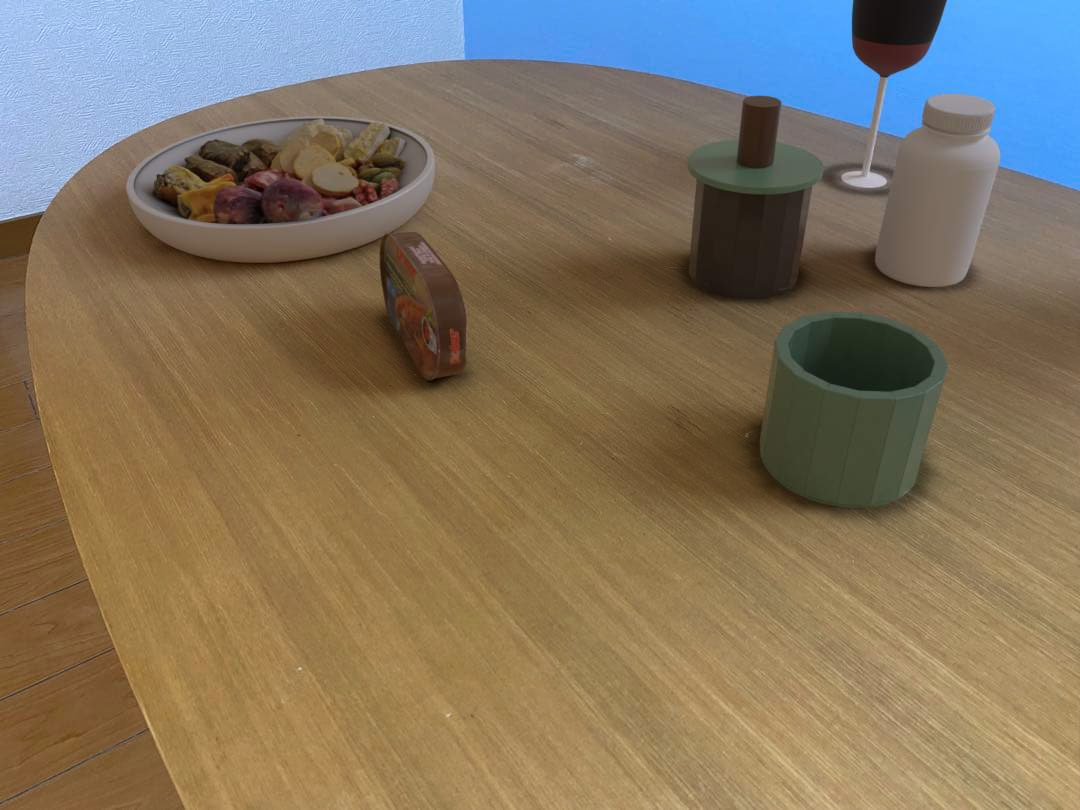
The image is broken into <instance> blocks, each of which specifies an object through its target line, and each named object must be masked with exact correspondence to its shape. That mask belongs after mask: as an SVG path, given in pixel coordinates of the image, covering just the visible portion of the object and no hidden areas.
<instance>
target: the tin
mask: <svg viewBox="0 0 1080 810" xmlns="http://www.w3.org/2000/svg"><path fill="white" fill-rule="evenodd" d="M380 241H381V242H380V246H379V275H380V281H381V288H382V294H383V300H384V306H385V310H386V313H387V317H388V320H389V322H390V324H391V325H392V326H393V327H394V329H396V331H397V333H398V335H399V337H400V339H401V341H402V343H403V344H404V346H405V348H406V349H407V351H408V353H409V355H410V357H411V359H412V361H413V362H414V364H415V365H416V367H417V369H418V370H419V372H420V374H421V376H422V377H423V379H425V380H427V381H433V380H434V379H439V378H443V377H450V376H454V375H457V374H459V373H461V372H463V371H464V369H465V368H466V365H467V325H468V324H467V323H468V321H467V320H468V319H467V312H466V308H465V307H466V306H465V302H464V298H463V294H462V291H461V289H460V286H459V284H458V282H457V280H456V277H455V276H454V274H453V273H452V271H451V270H450V269H449V268H448V267H447V265H446V263H445V262H444V261H443V260H442V259H441V258H440V256H439V254H438V253H437V252H436V251H435V250H434V249H433V247H432V246H431V245H430V244H429V242H427V240H426V239H425V238H424V237H423V235H421V234H420V233H419V232H415V231H409V232H407V231H405V232H397V233H391V232H390V233H386V234H385V235H384V236H383V237H381V240H380Z"/></svg>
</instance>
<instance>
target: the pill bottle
mask: <svg viewBox="0 0 1080 810" xmlns="http://www.w3.org/2000/svg"><path fill="white" fill-rule="evenodd" d="M995 114H996V107H995V105H994V103H992V101H990V100H987V99H985V98H983V97H980V96H975V95H971V94H965V93H964V94H963V93H940V94H935V95H933V96H930V97H928V98H927V99H926V101H925V103H924V105H923V111H922V115H921V126H919V127H918V128H914V129H913V130H911V131H910V132H908V133H907V134H906V135H905V136H904V137H903V139H902V141H901V143H900V144H899V146H898V150H897V156H896V160H895V164H894V169H893V173H892V177H891V183H890V186H889V191H888V196H887V199H886V203H885V209H884V214H883V218H882V221H881V226H880V232H879V236H878V241H877V244H876V250H875V255H874V256H875V257H874V262H875V266H876V267H877V269H878V270H879V271H880V272H881V273H882V274H883V275H885V276H887V277H888V278H890V279H892V280H895V281H897V282H900V283H904V284H907V285H912V286H916V287H924V288H927V287H928V288H942V287H943V288H944V287H949V286H953V285H956V284H958V283H960V282H962V281H963V280H964V279H965V277H966V276H967V275H968V271H969V269H970V266H971V262H972V259H973V256H974V252H975V248H976V246H977V241H978V238H979V235H980V231H981V228H982V224H983V221H984V218H985V215H986V210H987V207H988V204H989V201H990V197H991V194H992V190H993V186H994V183H995V179H996V176H997V173H998V169H999V167H1000V162H1001V150H1000V147H999V144H998V143H997V142H996V140H995V139H993V137H992V136H990V135H989V134H990V133H991V130H992V127H991V126H992V123H993V120H994V117H995Z"/></svg>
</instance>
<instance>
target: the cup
mask: <svg viewBox="0 0 1080 810" xmlns="http://www.w3.org/2000/svg"><path fill="white" fill-rule="evenodd" d="M812 190H813V185H812V186H810V187H808V188H806V189H803V190H799V191H795V192H790V193H782V194H747V193H738V192H732V191H727V190H723V189H719V188H716V187H713V186H710V185H707V184H705V183H703V182H701V181H699V180H697V179H696V181H695V193H694V194H695V195H694V203H693V217H692V228H691V240H690V253H689V261H688V262H689V264H688V274H689V277H690V278H691V280H692V281H693V283H694V284H696V285H697V286H698V287H700V288H701V289H703V290H704V291H706V292H709V293H711V294H715V295H718V296H721V297H725V298H730V299H736V300H737V299H738V300H763V299H771V298H774V297H778V296H782V295H784V294H786V293H787V292H789V291H790V290H791V289H793V288H794V287H795V285H796V284H797V279H798V277H799V271H800V265H801V259H802V253H803V246H804V241H805V234H806V229H807V228H806V227H807V222H808V215H809V210H810V203H811V197H812V192H813V191H812Z"/></svg>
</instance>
